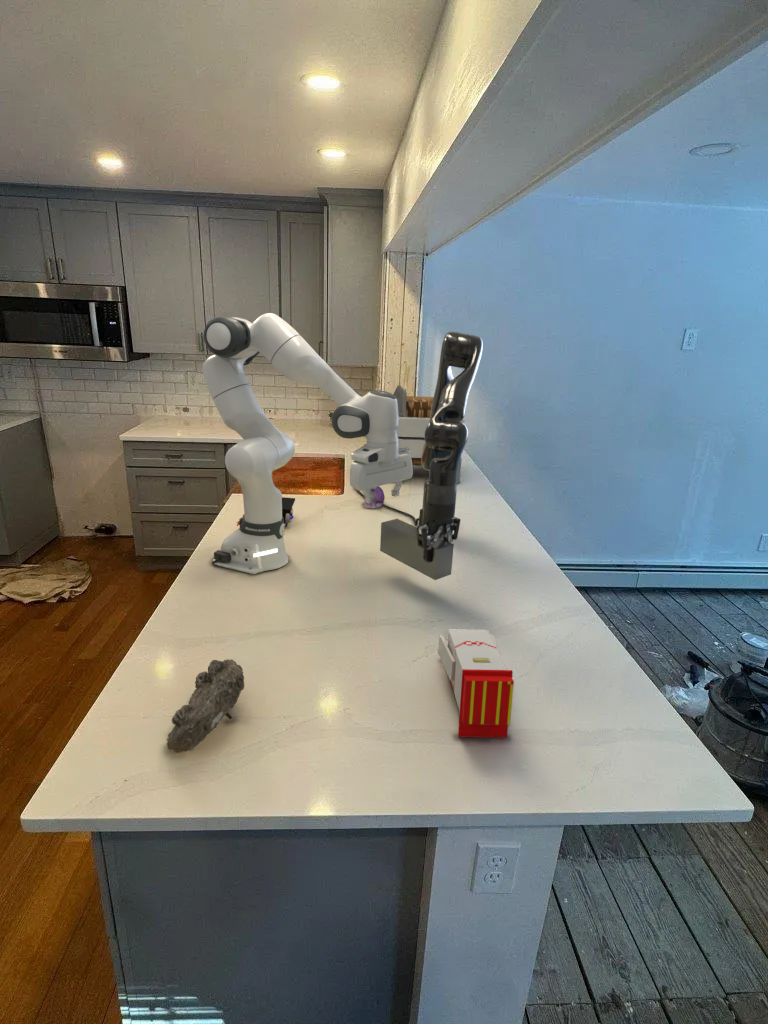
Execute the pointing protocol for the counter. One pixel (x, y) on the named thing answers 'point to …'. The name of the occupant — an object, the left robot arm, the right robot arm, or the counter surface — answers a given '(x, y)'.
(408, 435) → the grey crate
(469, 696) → the toy
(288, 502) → the figurine character
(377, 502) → the figurine
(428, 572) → the box
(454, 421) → the right robot arm
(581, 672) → the counter surface
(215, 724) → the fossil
